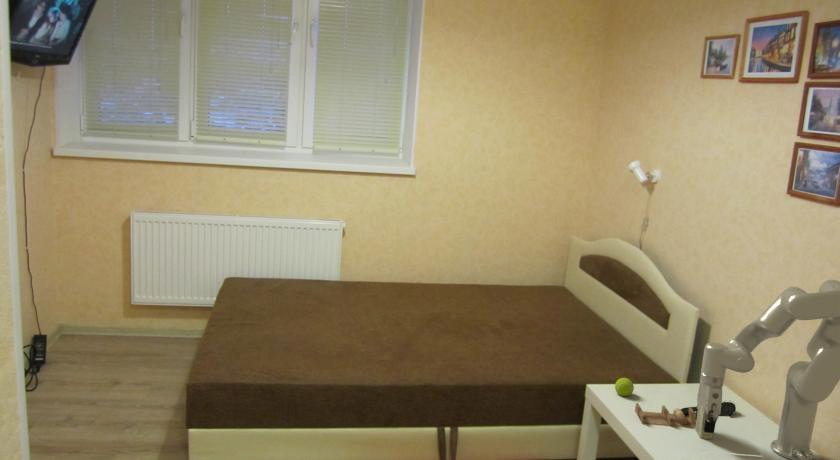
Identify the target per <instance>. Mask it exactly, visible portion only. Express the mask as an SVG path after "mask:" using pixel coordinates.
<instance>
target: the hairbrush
mask: <svg viewBox="0 0 840 460" xmlns="http://www.w3.org/2000/svg"><path fill="white" fill-rule="evenodd" d="M736 407H737V406H736V404H735V403H734V402H731V400H730V399H729V401H726V400H723V401H722V404H721V412H720V415H718V417H730V416H732V415H733V414H734V413H735V412H736V410H737V409H736ZM689 408H692V410H693V411H694V412H695V413H696V411H697V406H689V407H688V406H687V407H682V408H679V409H680V410H681V411H682V412H683V414H684V415H688V414H689V412H688V411H689Z"/></svg>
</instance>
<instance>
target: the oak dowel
mask: <svg viewBox="0 0 840 460" xmlns="http://www.w3.org/2000/svg"><path fill="white" fill-rule="evenodd" d="M680 409H681V408H675V409H674V410H673V412H672V414H674V415H675V417H676V418H677V420H678V421H679V423H680V424H681V425H686V424H687V423H688V419H687V418H686V416H685V415H684V414H683V412H682V411H681V410H680Z"/></svg>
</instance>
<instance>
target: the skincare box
mask: <svg viewBox="0 0 840 460" xmlns="http://www.w3.org/2000/svg"><path fill="white" fill-rule="evenodd" d="M697 405H698V404H697ZM709 413H713V412H712V411H709ZM712 416H713V415H709V418H710V417H712ZM705 421H707V416H706V413H705V412H704V407H702V406H700V405H698V412H697V420H696V428H694V429H695V432H696V434H697V435H698V437H699V439H702V440H703V439H705V440H714V433H706V432H704V427H705Z"/></svg>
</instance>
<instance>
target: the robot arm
mask: <svg viewBox="0 0 840 460" xmlns="http://www.w3.org/2000/svg"><path fill="white" fill-rule="evenodd" d="M821 319H822V320H821ZM797 320H799V321H812V320H814V321H815V320H821V322H820V323H819V325H818V328H816V330H815V332H814V334H813V335H812V337H811V338H810V340H809V342H808V343H807V345H806V353H807V355H808V357H809V358H810V359H811V361H807V360H799V361H795V362H794V363H792V364H791V365H790V366H789V368H788V370H787V374H786V381H785V393H784V394H785V395H784V401H783V405H782V410H781V418H780V421H779V428H778V433H777V438H776V439H775V440H772V441H771V442H770V448H771V449H772V451H773V452H774V453H776V454H777V455H779V456H780V457H782V458H785V459H788V460H813V459H814V456H815V455H814V452H813V451H812V450H811V447H810V446H811V441H812V436H813V432H814V425H815V421H816V415H817V411H818V405H819V403H821V402H824V401H825V400H827V398H829V396H830V395H831V394H832V392H833V391H834V390H835V387H836V386H837V385H838V383H839V381H840V280H836V279H829V280H825V281H824V282H823V283H821V285H820V286H819V288H818V291H817V292H807V291H806V290H805V289H803V288H800V287H797V286H790V287H787V288H786V289H784V290H783V291H782V292H781V293H780V294H779V295H778V296H777V297H776V298H775V299H774V300H773V302H772V303H771V304H770V305H769V306H768V307H767V308H766V309H765V311H763V313H762V314H760V316H759V317H758V318H757V319H755V320H753V321H752V322H750V323H749V324H747V325H745V326H744V327H742V329H741V330H739V332H737V333H736V334H735V336H734V337H733V338H732V339H731V340H730V341H729V342H728V344H727V345H725V344H723V343H719V342H714V341H713V342H712V341H711V342H708V343H706V344H705V346H704V350H703V356H702V364H701V369H700V377H699V382H700V383H699V387H698V392H697V399H696V401H697V405H696V407H697V411H696V412H695V414H696V417H695V419H696V420H697V412H698V405H700V406H702V407H704V412H705V413H706V416H707V421H705V427H704V432H706V433H713V434H715V429H716V424H717V421H718V419H719V416H718V415H720V412H721V404H722V402H723V387H724V383H725V377H726V371H727V370H731V371H733V372H735V373H740V374H745V373H749V372H751V371H752V370H753V369H754V368H755V364H756V363H755V358H754V356H753V355H752V352H753V351H754V350H755V349H756V348H757V347H758V346H760V344H761V343H762V342H764V341H766V340H768V339H773V338H779V337H781V336H782V335H784V334H785V333H786V331H787V330H788V329H789V328H790V327H792V325H793V324H794V323H795V322H796V321H797ZM709 411H712V412H713V413H709ZM709 415H713V416H712V417H710V418H709Z"/></svg>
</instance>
